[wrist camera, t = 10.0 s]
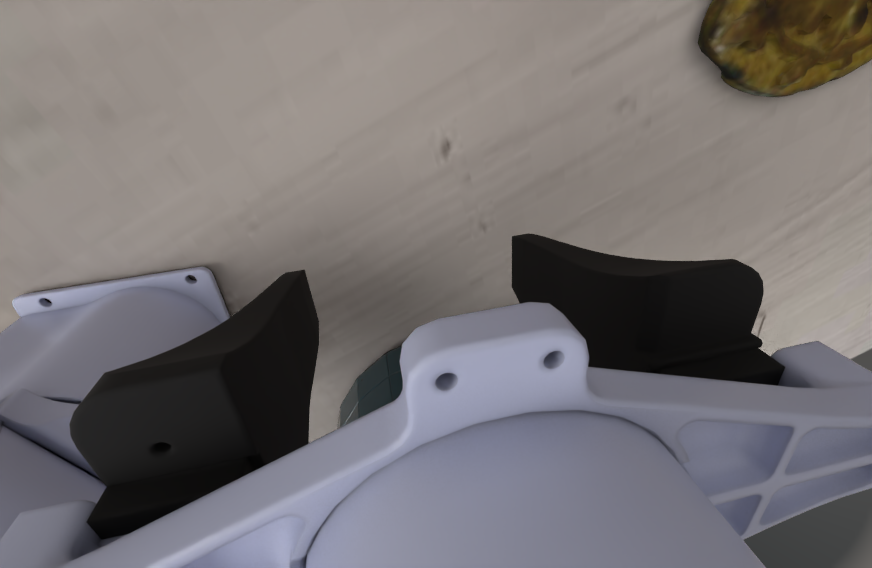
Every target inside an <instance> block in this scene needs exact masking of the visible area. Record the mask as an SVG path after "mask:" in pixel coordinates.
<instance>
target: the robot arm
mask: <svg viewBox="0 0 872 568" xmlns="http://www.w3.org/2000/svg"><path fill="white" fill-rule="evenodd" d="M188 275H193V276H195V278H196V279H197V280H196V281H193V280H191V279H189V277H188ZM512 288H513V290H514V292H515V294H516V296H517V298H518V300H519V302H520V304H516V305H510V306H505V307H499V308H494V309H488V310H483V311H477V312H472V313H466V314H461V315H455V316H450V317H445V318H439V319H436V320H433V321H431V322H429V323H426V324H424V325H421V326H419V327H417V328H416V329H415V330H414V331H413V332H412V333H411V334H410V335H409V337H408V338H407V339H406V340H405V341H404V342H403V344H402V349H401V356H400V367H401V373H402V379H403V389H402V392H401V394H400V395H399V397H398V398H397V399H396V400H395V401H393V402H391V403H389V404H387V405H385V406H383V407H381V408H379V409H377V410H375V411H373V412H371V413H369V414H367V415H365V416H363V417H361V418H359V419H357V420H355V421H353V422H351V423H349V424H347V425H345V426H343V427H341V428H339V429H337V430H335V431H333V432H331V433H329V434H327V435H325V436H323V437H321V438H319V439H317V440H315V441H313V442H311V443H309V444H308V437H309V407H310V397H311V391H312V384H313V378H314V372H315V366H316V360H317V353H318V346H319V320H318V317H317V313H316V309H315V306H314V302H313V299H312V295H311V291H310V288H309V284H308V280H307V277H306V273H305V270H300V271H294V272H287V273H285V274H283V275H282V276H280V277H279V278H278V279H277V280H276V281H275V282H273V283H272V284H271V285H270V286H269V287H268V288H267V289H266V290H264V291H263V292H262V293H261V294H260V295H259V296H258V297H256V298H255V299H254V300H253V301H251V302H250V303H249V304H248V305H246V306H245V307H244V308H243V309H241V310H240V311H239V312H237V313H236V314H235V315H233V316H232V317H230V315H229V313H228V310H227V308H226V305H225V303H224V300H223V298H222V295H221V293H220V290H219V288H218V285H217V283H216V280H215V278H214V275H213V273H212V272H211V270H209V269H208V268H206V267H195V268H189V269H182V270H176V271H169V272H163V273H156V274H150V275H143V276H137V277H131V278H124V279H118V280H111V281H105V282H98V283H92V284H85V285H79V286H73V287H66V288H60V289H53V290H47V291H40V292H34V293H27V294H22V295H19V296H18V297H16V298H15V299H14V300H13V302H12V305H13V307H14V309H15V310H16V312H17V313H18V314H19V316H20V317H21V318H19V319H18V320H17V321H15V322H14V323H13V324H11V325H10V326H9V327H7V328H6V329H5V330H4V331H2V332H1V333H0V568H765V566H764V565H763V564H762V563H761V561H760V560H759V559H758V558H757V557H756V555H755V554H754V553H753V552H752V551H751V549H750V548H749V547H748V546H747V545H746V543H745V542H744V541H743V539H746V538H748V537H750V536H752V535H754V534H756V533H759V532H761V531H763V530H765V529H767V528H769V527H772V526H774V525H776V524H778V523H780V522H782V521H785V520H787V519H789V518H792V517H794V516H796V515H799V514H801V513H803V512H805V511H808V510H810V509H812V508H815V507H817V506H820V505H823V504H825V503H828V502H831V501H833V500H836V499H839V498H842V497H844V496H847V495H851V494H854V493H857V492H860V491H864V490H867V489H870V488H872V372H871V371H869V370H867V369H866V368H864V367H862V366H860V365H859V364H857V363H855V362H853V361H852V360H850V359H848V358H847V357H845V356H843V355H842V354H840V353H838V352H836V351H835V350H833V349H831V348H830V347H828V346H826V345H824V344H823V343H821V342H819V341H814V342H809V343H805V344H800V345H795V346H791V347H786V348H782V349H780V350H777V351H776V352H775V353H774V354H772V355H771V357H770V356H769V355H767V354H766V353H764V352H763V351H761V350H760V349H759V347H761V346H762V340H761V339H759V338H758V337H756V336H755V335H753V334H752V333H751V331H752V328H753V326H754V323H755V320H756V317H757V314H758V311H759V308H760V306H761V302H762V297H763V281H762V279H761V277H760V275H759V273H758V272H756V271H755V270H754V269H753V268H751V267H749V266H747V265H745V264H743V263H741V262H739V261H737V260H734V259H726V260H707V261H659V260H646V259H635V258H627V257H621V256H615V255H609V254H604V253H599V252H595V251H591V250H587V249H583V248H580V247H576V246H573V245H569V244H566V243H563V242H559V241H556V240H553V239H550V238H546V237H543V236H539V235H535V234H523V235H517V236H512ZM45 298H47V299H49V300H50V301H51V302H52V303H49V302H47V301H46V300H45Z"/></svg>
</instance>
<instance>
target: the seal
mask: <svg viewBox="0 0 872 568" xmlns="http://www.w3.org/2000/svg"><path fill="white" fill-rule="evenodd" d="M698 44H699V46H700V49H701V51H702V52H703V53H704V54H705V55H706V56H707V57H708V58H709V59H710V60H711V61H713V62H714V63H715V64H716V65H717V66H718V67H719V68H720V69H721V71H722V76H721V78H722V79H723V80H724V81H725V82H726V83H727V84H729V85H730V86H732V87H733V88H736V89H738V90H740V91H743V92H747V93H750V94H754V95H760V96H766V97H780V96H788V95H793V94H795V93H797V92H800V91H805V90H809V89H814V88H816V87H818V86H820V85H823V84H825V83H827V82H829V81H832V80H835V79H838V78H841V77H843V76H845V75H846V74H848V73H850V72H852V71H854V70H855V69H857V68H859V67H860V66H862V65H864V64H865V63H867V62H868V61H870V60H871V59H872V0H713V1H712V3H711V4H710V6H709V8H708V10H707V12H706V15H705V18H704V20H703V23H702V26H701V31H700V35H699V40H698Z"/></svg>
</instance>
